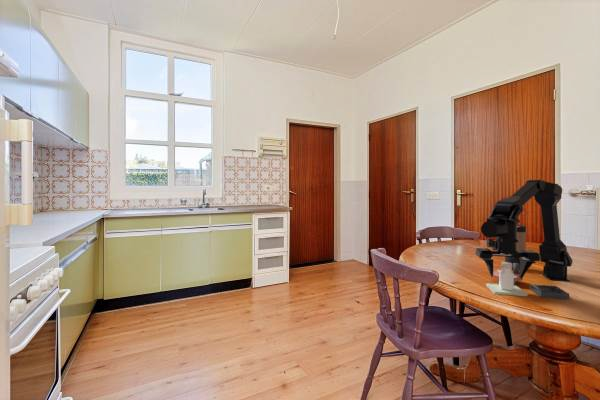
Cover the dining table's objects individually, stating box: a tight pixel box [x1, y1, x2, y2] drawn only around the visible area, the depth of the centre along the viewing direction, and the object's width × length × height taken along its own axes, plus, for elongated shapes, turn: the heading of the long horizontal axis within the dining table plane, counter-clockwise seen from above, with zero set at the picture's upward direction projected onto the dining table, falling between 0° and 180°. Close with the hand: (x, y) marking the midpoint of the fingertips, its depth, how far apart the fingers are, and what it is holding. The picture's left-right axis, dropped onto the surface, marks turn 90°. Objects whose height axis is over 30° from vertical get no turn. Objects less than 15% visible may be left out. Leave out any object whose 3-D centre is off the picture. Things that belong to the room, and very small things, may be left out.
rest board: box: [485, 283, 528, 297], centre depth 107 cm, size 10×9×1 cm
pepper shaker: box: [498, 261, 514, 290], centre depth 106 cm, size 4×4×10 cm
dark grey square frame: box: [529, 283, 570, 300], centre depth 103 cm, size 8×8×2 cm
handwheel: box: [492, 263, 523, 282], centre depth 116 cm, size 10×10×5 cm
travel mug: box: [504, 224, 527, 271], centre depth 133 cm, size 8×8×20 cm
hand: (505, 277), depth 107 cm, fingers open, 9 cm apart
